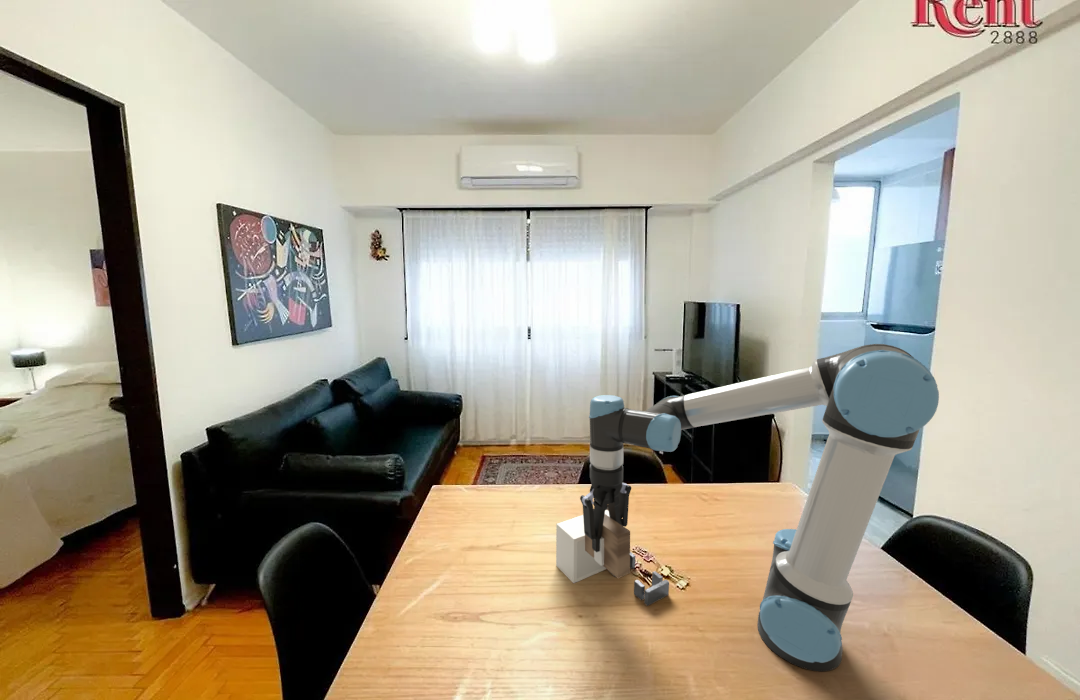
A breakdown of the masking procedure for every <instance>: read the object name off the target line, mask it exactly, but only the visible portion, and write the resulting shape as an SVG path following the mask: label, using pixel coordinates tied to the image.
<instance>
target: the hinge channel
mask: <svg viewBox="0 0 1080 700" xmlns="http://www.w3.org/2000/svg"><path fill="white" fill-rule="evenodd" d="M635 568H636V555H635V553H633V552H632V551H630V570H631V569H632V570H634V569H635ZM607 571H608V573H609V574H611V575H612V576H613V577H614V578H615V577H616V576H615V575H613V574H612V573H611V572H610V571H609V570H607ZM616 578H617V577H616ZM663 578H664V577H663V575H661V574H660V573H659V572H657V571H656V570H654V571H652V574H651V586H649V587H648V588H646V585H645V584H644V583H642V582H641V581H640V580H639V579H635V580H634V581H633V583H634V584H633V595H634V596H635V597H637V598H638V599H639V600H640V601H644V605H645V606H646V607H648V606H650V605H652V604H654V603H656V602H658V601H660V600H662V599H664V598H666V597H667V596H669V593H670V591H669V589H670V581H669V580H668V579H663Z"/></svg>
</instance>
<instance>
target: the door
mask: <svg viewBox="0 0 1080 700" xmlns="http://www.w3.org/2000/svg"><path fill="white" fill-rule="evenodd" d="M601 537H603V538H604V565H603V566H604V567H605V568H606V569H605V570H607V571H608V570H609V571H610V572H611V573H612V574H613V575H615V576H616V578H617V579H620V578H622V577H624V576H626V575H628V574H630V573H631V568H630V552H631V530H629V529H628V528H626V527H624V526H622V525H621V524H619V523H618V522H616V521H615V520H613V519H612V518H610V517H609V516H607V515H606V514H605V515H604V522H603V529H602V536H601ZM585 551H586V552H587V553H589V554H590V555H591V556H592V557H593V558H594V550H593V549H592V539H590V538H589V537H588V536H587V535H585ZM609 571H608V572H609ZM610 572H609V573H610ZM611 573H610V574H611ZM612 574H611V575H612ZM613 575H612V576H613Z"/></svg>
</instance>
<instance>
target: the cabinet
mask: <svg viewBox="0 0 1080 700" xmlns="http://www.w3.org/2000/svg"><path fill="white" fill-rule="evenodd" d="M605 514H606V515H607V516H609V511H608V510H605ZM609 517H610V516H609ZM555 527H556V529H555V530H556V532H555V533H556V537H555V539H556V542H555V544H556V547H555V552H556V553H555V562H556V563H555V566H556V567H557V568H558V569H559V570H560V571H561V572H562V573H563V574H564V575H565V576H566V577H567V578H568V580H569V581H570V582H572V583H573V584H576V583H578V582H580V581H582V580H584V579H587V578H590V577H592V576H594V575H596V574H599V573H600V572H604V571H605V570H607V569H606V568H605V567H604V566H601V565H600V564H599V563H597V562H596V561H595V560H594V558H593V557H592V556H591V555H590V554H589V553H587V552H586V551H585V533H584V519H583V514H581V515H578V516H575V517H573V518H569V519H567V520H564V521H561V522H558V523H556V525H555Z"/></svg>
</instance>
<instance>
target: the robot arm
mask: <svg viewBox="0 0 1080 700" xmlns="http://www.w3.org/2000/svg"><path fill="white" fill-rule="evenodd" d="M939 392H940V391H939V389H938V384H937V382H936V379H935V377H934V376H933V374H932V372H931V371H930V370H929V368H927V366H926V365H924V363H922V362H921V361H920V360H918V359H916V358H915V357H914V356H912V355H911V354H910V353H909V352H907V351H906V350H904V349H901V347H896V346H895V345H892V344H891V345H890V344H885V343H872V344H864V345H860V346H858V347H854V348H852V349H848V350H846V351H843V352H840V353H836V354H833V355H830V356H826V357H820V358H818V359H814V361H813V362H812V363H811V365H810V366H807V367H802V368H798V369H792V370H789V371H785V372H780V373H776V374H771V375H768V376H767V375H766V376H762V377H758V378H754V379H753V378H752V379H748V380H745V381H740V382H735V383H731V384H728V385H722V386H719V387H714V388H709V389H706V390H701V391H697V392H692V393H688V394H685V395H680V396H679V395H670V396H667V397H664V398H662V399H661V400H659V401H658V402H656V404H653V405H652V406H651V407H649V408H647V409H646V410H639V409H631V408H628V407H625V403H624V402H625V401H624V400H623V398H622V397H620V396H617V395H613V394H603V395H602V394H601V395H596V396H595V397H592V399H591V400H590V403H589V415H588V419H589V463H590V464H589V478H590V479H589V480H590V483H591V485H590V488H589V492H588V493H587V494H586V495H581V496H579V497H580V498H579V500H580V502H581V504H582V515H583V519H584V533H585V535H587V536H588V537H589V538H590V539H592V549H593V550H594V560H595V561H596V562H597V563H599V564H600V565H601V566H603V565H604V538H603V537H601V536H602V529H603V522H604V515H605V510H607V505H608V509H609V516H610V518H612V519H613V520H615V521H616V522H618V523H619V524H621V525H622V526H623V527H625V528H626V527H627V526H628V519H629V506H630V505H629V504H630V494H631V491H632V486H631V485H630V484H627V483H626V482H624V466H623V465H624V444H628V445H632V446H636V447H641V448H645V449H650V450H653V451H657V452H659V451H660V452H667V453H668V452H670V453H671V452H674V451H675V450H676V449H677V448H678V447H679V446H678V445H679V444H680V441H681V436H682V430H683V431H684V430H687V429H693V428H697V427H698V428H699V427H701V426H702V427H703V426H709V425H714V424H719V423H720V424H721V423H727V422H731V421H737V420H745V419H749V418H754V417H760V416H761V417H762V416H765V415H771V414H777V413H782V412H789V411H794V410H799V409H805V408H806V409H807V408H810V407H811V408H812V407H817V406H818V407H819V406H822V405H823V406H826V407H825V410H824V414H823V417H822V419H821V420H822V423H823V425H824V427H825V428H826V430H828V437H827V440H826V442H825V446H824V448H823V451H822V454H821V457H820V460H819V464H818V466H817V469H816V472H815V474H814V478H813V479H812V483H811V486H810V489H809V492H808V495H807V497H806V498H807V499H806V501H805V504H804V507H803V510H802V513H801V516H800V519H799V522H798V525H797V528H795V529H794V528H784V529H779V530H778V531H776V532H775V535H774V540H773V542H772V544H773V549H772V551H773V552H772V558H771V564H770V568H769V572H768V575H767V576H768V577H767V580H766V585H765V589H764V592H763V593H764V594H763V597H762V601H760V604H759V611H758V615H757V616H758V617H757V623H756V624H757V630H758V633H759V636H760V638H761V639H762V641H763V642H764V643H765V645H766V646H767V647H768V648H769V649H770V650H771V651H772V652H774V654H776V655H777V656H779V657H780V658H782V659H783V660H785V661H787V662H788V663H790V664H792V665H794V666H796V667H798V668H801V669H806V670H809V671H813V672H828V671H832V670H835V669H836V668H838V667H839V666H840V664H841V663H842V658H843V648H844V647H843V641H842V640H843V638H842V634H841V632H842V631H841V630H842V627H843V623H844V620H845V618H846V615H847V613H848V611H849V607H850V606H851V602H852V600H853V597H854V591H853V588H852V586H851V585H850V583H849V582H848V580H847V579H848V577H849V574H850V571H851V569H852V566H853V564H854V561H855V558H856V556H857V554H858V551H859V549H860V546H861V543H862V542H863V538H864V536H865V533H866V530H867V528H868V525H869V523H870V520H871V518H872V515H873V512H874V510H875V507H876V504H877V502H878V500H879V497H880V494H881V492H882V491H883V490H882V489H883V487H884V484H885V483H886V482H885V481H886V479H887V477H888V474H889V471H890V470H891V469H890V468H891V466H892V464H893V461H894V458H895V457H896V455H898V454H902V453H906V452H908V451H911V450H912V449H913V448H914V445H915V442H916V440H917V437H918V434H919V433H920V429H922V428H924V427H925V426H926V425H927V424H929V422H930V421H931V420H932V419H933V417H934V416H935V414H936V412H937V409H938V406H939V402H940V401H939V399H940V393H939Z"/></svg>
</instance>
